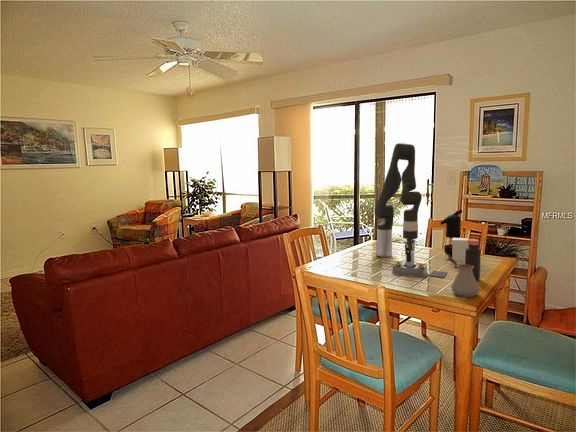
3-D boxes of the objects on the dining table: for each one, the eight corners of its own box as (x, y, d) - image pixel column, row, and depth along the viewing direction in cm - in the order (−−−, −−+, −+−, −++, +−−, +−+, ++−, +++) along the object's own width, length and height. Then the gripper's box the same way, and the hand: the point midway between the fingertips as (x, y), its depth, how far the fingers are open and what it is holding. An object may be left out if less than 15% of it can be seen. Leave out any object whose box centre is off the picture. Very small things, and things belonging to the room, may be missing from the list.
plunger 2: (416, 271, 197) (416, 262, 196) (417, 269, 201) (418, 260, 200) (425, 272, 195) (425, 263, 194) (426, 270, 198) (426, 261, 198)
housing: (392, 273, 201) (392, 266, 200) (397, 268, 209) (397, 261, 209) (423, 277, 193) (423, 269, 192) (427, 272, 201) (427, 265, 201)
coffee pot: (485, 297, 162) (486, 263, 160) (460, 299, 160) (461, 265, 158) (457, 282, 183) (458, 252, 181) (434, 284, 181) (435, 253, 179)
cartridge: (404, 273, 200) (404, 251, 198) (406, 271, 204) (406, 249, 202) (413, 274, 198) (413, 252, 196) (414, 272, 202) (415, 250, 200)
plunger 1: (393, 269, 203) (393, 260, 202) (395, 267, 207) (395, 258, 206) (401, 270, 201) (401, 261, 200) (403, 267, 204) (403, 259, 204)
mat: (429, 276, 194) (429, 275, 194) (432, 271, 202) (432, 270, 202) (444, 278, 190) (444, 277, 190) (446, 272, 199) (446, 272, 199)
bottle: (472, 281, 183) (474, 241, 180) (461, 278, 189) (462, 239, 187) (482, 279, 186) (484, 240, 183) (471, 276, 192) (472, 238, 189)
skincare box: (467, 264, 213) (468, 238, 211) (468, 267, 207) (469, 240, 205) (451, 263, 217) (452, 237, 215) (451, 266, 211) (452, 239, 209)
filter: (456, 256, 234) (457, 208, 230) (464, 259, 225) (466, 210, 221) (435, 257, 232) (436, 209, 228) (443, 260, 223) (444, 211, 219)
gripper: (406, 226, 206) (405, 257, 208) (399, 231, 193) (399, 263, 196) (420, 227, 202) (419, 258, 204) (414, 231, 190) (414, 264, 192)
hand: (409, 260), depth 200 cm, fingers closed on cartridge, 4 cm apart
